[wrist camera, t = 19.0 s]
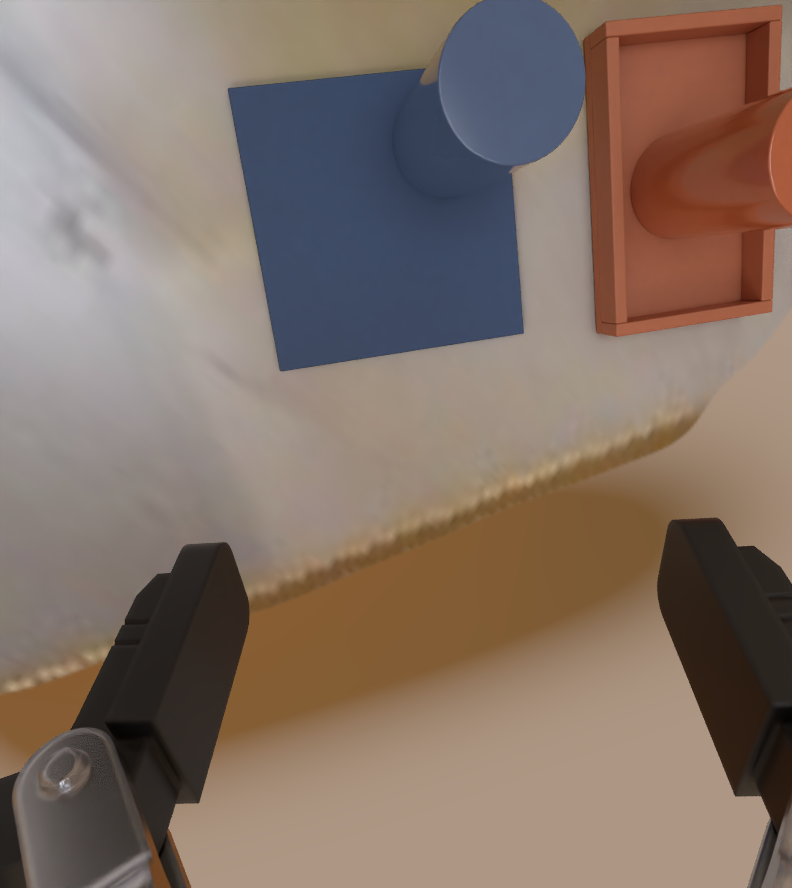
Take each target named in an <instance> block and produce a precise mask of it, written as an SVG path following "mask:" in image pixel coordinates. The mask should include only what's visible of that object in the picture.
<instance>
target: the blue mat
mask: <svg viewBox="0 0 792 888" xmlns="http://www.w3.org/2000/svg"><path fill="white" fill-rule="evenodd" d="M425 70H426V68H425V69H415V70H405V71H395V72H385V73H375V74H365V75H355V76H346V77H336V78H326V79H316V80H306V81H296V82H286V83H276V84H266V85H256V86H247V87H237V88H228V92H229V98H230V103H231V108H232V114H233V119H234V125H235V130H236V135H237V141H238V146H239V151H240V157H241V162H242V168H243V173H244V178H245V184H246V189H247V194H248V200H249V205H250V211H251V216H252V221H253V227H254V232H255V237H256V243H257V248H258V254H259V259H260V264H261V270H262V275H263V280H264V286H265V291H266V296H267V302H268V307H269V313H270V318H271V323H272V329H273V334H274V339H275V345H276V350H277V356H278V361H279V366H280V371H286V370H293V369H299V368H305V367H312V366H318V365H325V364H331V363H337V362H344V361H350V360H357V359H363V358H369V357H376V356H382V355H388V354H395V353H401V352H408V351H414V350H420V349H427V348H433V347H439V346H446V345H452V344H459V343H465V342H471V341H478V340H484V339H491V338H497V337H503V336H510V335H516V334H522V333H524V331H523V317H522V304H521V291H520V278H519V265H518V251H517V238H516V225H515V212H514V198H513V185H512V173H510V174H508V175H506V176H503V177H501V178H499V179H497V180H495V181H493V182H491V183H489V184H486V185H484V186H482V187H480V188H478V189H476V190H474V191H472V192H470V193H467V194H465V195H463V196H460V197H457V198H452V199H438V198H433V197H430V196H427V195H425V194H423V193H421V192H419V191H418V190H416V189H415V188H414V187H413V186H411V185H410V184H409V183H408V182H407V180H406V179H405V178H404V176H403V175H402V173H401V172H400V170H399V168H398V166H397V163H396V160H395V157H394V153H393V147H392V132H393V127H394V122H395V119H396V116H397V114H398V112H399V110H400V108H401V106H402V105H403V103H404V102H405V100H406V99H407V97H408V96H409V94H410V93H411V91H412V89H413V88H414V86H415V85H416V83H417V82H418V80H419V79H420V77H421V76H422V74H423V73H424V71H425Z"/></svg>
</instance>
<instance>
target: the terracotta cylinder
mask: <svg viewBox="0 0 792 888" xmlns="http://www.w3.org/2000/svg"><path fill="white" fill-rule="evenodd" d="M631 201H632V206H633V209H634V212H635V214H636V216H637V218H638V220H639V221H640V223H641V224H642V225H643V226H644V227H645V228H646V229H647V230H648V231H649V232H650V233H652V234H654V235H656V236H658V237H660V238H664V239H683V238H693V237H704V236H714V235H724V234H734V233H744V232H754V231H764V230H775V229H785V228H792V87H790V88H788V89H785V90H782V91H780V92H777V93H775V94H772V95H769V96H767V97H764V98H761V99H759V100H756V101H753V102H751V103H748V104H746V105H743V106H740V107H738V108H735V109H732V110H730V111H727V112H724V113H722V114H719V115H717V116H714V117H711V118H709V119H706V120H703V121H701V122H698V123H695V124H693V125H690V126H688V127H685V128H682V129H680V130H677V131H674V132H672V133H669V134H666V135H664V136H662V137H660V138H659V139H657V140H656V141H654V142H653V143H652V144H651V145H650V146H649V147H648V148H647V149H646V150H645V151H644V153H643V154H642V156H641V157H640V159H639V161H638V163H637V165H636V167H635V170H634V172H633V176H632V181H631Z"/></svg>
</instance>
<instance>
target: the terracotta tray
mask: <svg viewBox="0 0 792 888" xmlns="http://www.w3.org/2000/svg"><path fill="white" fill-rule="evenodd" d="M781 19H782V5H773V6H763V7H752V8H742V9H731V10H721V11H710V12H700V13H689V14H679V15H668V16H658V17H647V18H637V19H626V20H616V21H606V22H605V23H604V24H602V25H601V26H600V27H599V28H597V29H596V30H595V31H594V32H592V33H591V34H590V35H589V36H588V37H586V38H585V39H584V54H585V74H586V76H585V77H586V100H587V123H588V147H589V170H590V193H591V216H592V239H593V262H594V285H595V308H596V331H597V333H600V334H605V335H611V336H616V337H618V336H624V335H631V334H637V333H643V332H649V331H656V330H662V329H668V328H674V327H681V326H687V325H693V324H699V323H706V322H712V321H718V320H724V319H730V318H737V317H743V316H749V315H755V314H762V313H768V312H772V300H771V299H772V298H773V269H774V240H775V230H764V231H754V232H744V233H734V234H724V235H714V236H704V237H693V238H683V239H664V238H660V237H658V236H656V235H654V234H652V233H650V232H649V231H648V230H647V229H646V228H645V227H644V226H643V225H642V224H641V223H640V221H639V220H638V218H637V216H636V214H635V212H634V209H633V206H632V201H631V181H632V176H633V172H634V170H635V167H636V165H637V163H638V161H639V159H640V157H641V156H642V154H643V153H644V151H645V150H646V149H647V148H648V147H649V146H650V145H651V144H652V143H653V142H654V141H656V140H657V139H659V138H660V137H662V136H664V135H666V134H669V133H672V132H674V131H677V130H680V129H682V128H685V127H688V126H690V125H693V124H695V123H698V122H701V121H703V120H706V119H709V118H711V117H714V116H717V115H719V114H722V113H724V112H727V111H730V110H732V109H735V108H738V107H740V106H743V105H746V104H748V103H751V102H753V101H756V100H759V99H761V98H764V97H767V96H769V95H772V94H775V93H777V92H780V62H781V33H782V21H780V20H781Z"/></svg>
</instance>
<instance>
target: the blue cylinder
mask: <svg viewBox="0 0 792 888" xmlns="http://www.w3.org/2000/svg"><path fill="white" fill-rule="evenodd" d="M585 76H586V74H585V64H584V59H583V55H582V51H581V48H580V45H579V42H578V40H577V38H576V36H575V34H574V32H573V30H572V29H571V27H570V26H569V24H568V23H567V22H566V20H565V19H564V18H563V17H562V16H561V15H560V14H559V13H558V12H557V11H556V10H555V9H554V8H552V7H551V6H549V5H548V4H546V3H545V2H543V1H541V0H483V1H481V2H479V3H477V4H476V5H475V6H473V7H472V8H470V9H469V10H468V11H467V12H466V13H465V14H464V15H463V16H462V17H461V18H460V19H459V20H458V21H457V23H456V24H455V25H454V27H453V28H452V30H451V31H450V33H449V34H448V36H447V37H446V39H445V40H444V42H443V43H442V45H441V47H440V48H439V50H438V51H437V53H436V54H435V56H434V57H433V59H432V60H431V62H430V63H429V65H428V66H427V68H426V70H425V71H424V73H423V74H422V76H421V77H420V79H419V80H418V82H417V83H416V85H415V86H414V88H413V89H412V91H411V93H410V94H409V96H408V97H407V99H406V100H405V102H404V103H403V105H402V106H401V108H400V110H399V112H398V114H397V116H396V119H395V122H394V127H393V132H392V147H393V153H394V157H395V160H396V163H397V166H398V168H399V170H400V172H401V173H402V175H403V176H404V178H405V179H406V180H407V182H408V183H409V184H410V185H411V186H413V187H414V188H415V189H416V190H418V191H419V192H421V193H423V194H425V195H427V196H430V197H433V198H438V199H452V198H457V197H460V196H463V195H465V194H467V193H470V192H472V191H474V190H476V189H478V188H480V187H482V186H484V185H486V184H489V183H491V182H493V181H495V180H497V179H499V178H501V177H503V176H506V175H508V174H510V173H512V172H514V171H516V170H518V169H520V168H522V167H525V166H527V165H529V164H531V163H533V162H535V161H537V160H539V159H541V158H543V157H545V156H547V155H548V154H549V153H551V152H552V151H554V150H555V149H556V148H557V147H558V146H559V145H560V144H561V143H562V142H563V141H564V139H565V138H566V137H567V136H568V134H569V133H570V131H571V130H572V128H573V126H574V124H575V122H576V120H577V118H578V116H579V113H580V110H581V107H582V103H583V99H584V93H585Z"/></svg>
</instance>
